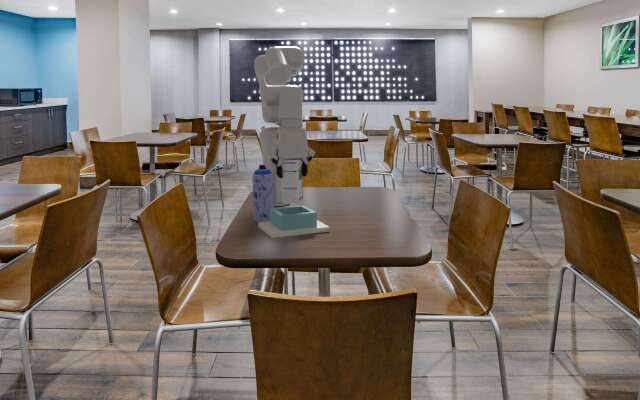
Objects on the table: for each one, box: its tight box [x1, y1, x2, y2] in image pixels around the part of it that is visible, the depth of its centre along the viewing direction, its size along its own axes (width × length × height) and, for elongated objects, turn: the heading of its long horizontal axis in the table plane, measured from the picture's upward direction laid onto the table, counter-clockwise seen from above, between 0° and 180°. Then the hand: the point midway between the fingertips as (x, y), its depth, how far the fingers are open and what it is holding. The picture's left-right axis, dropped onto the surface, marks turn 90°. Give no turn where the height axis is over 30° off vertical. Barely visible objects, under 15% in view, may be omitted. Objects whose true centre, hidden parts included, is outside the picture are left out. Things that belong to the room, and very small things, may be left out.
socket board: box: [257, 204, 330, 239], centre depth 183 cm, size 16×20×6 cm
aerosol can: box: [251, 164, 275, 222], centre depth 196 cm, size 8×8×20 cm
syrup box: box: [282, 158, 304, 204], centre depth 180 cm, size 6×6×14 cm
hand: (292, 176), depth 180 cm, fingers closed on syrup box, 7 cm apart
